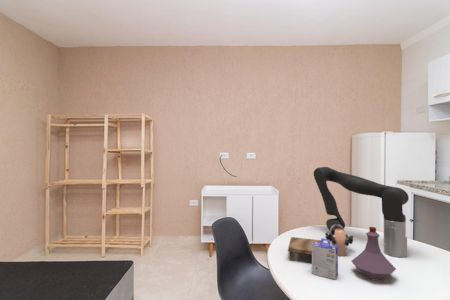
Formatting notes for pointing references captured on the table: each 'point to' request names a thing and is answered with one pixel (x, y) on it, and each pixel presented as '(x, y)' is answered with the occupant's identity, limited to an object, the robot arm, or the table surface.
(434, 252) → the table surface
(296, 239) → the walnut stand
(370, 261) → the flask
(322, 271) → the ink cartridge box
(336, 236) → the peach cylinder
